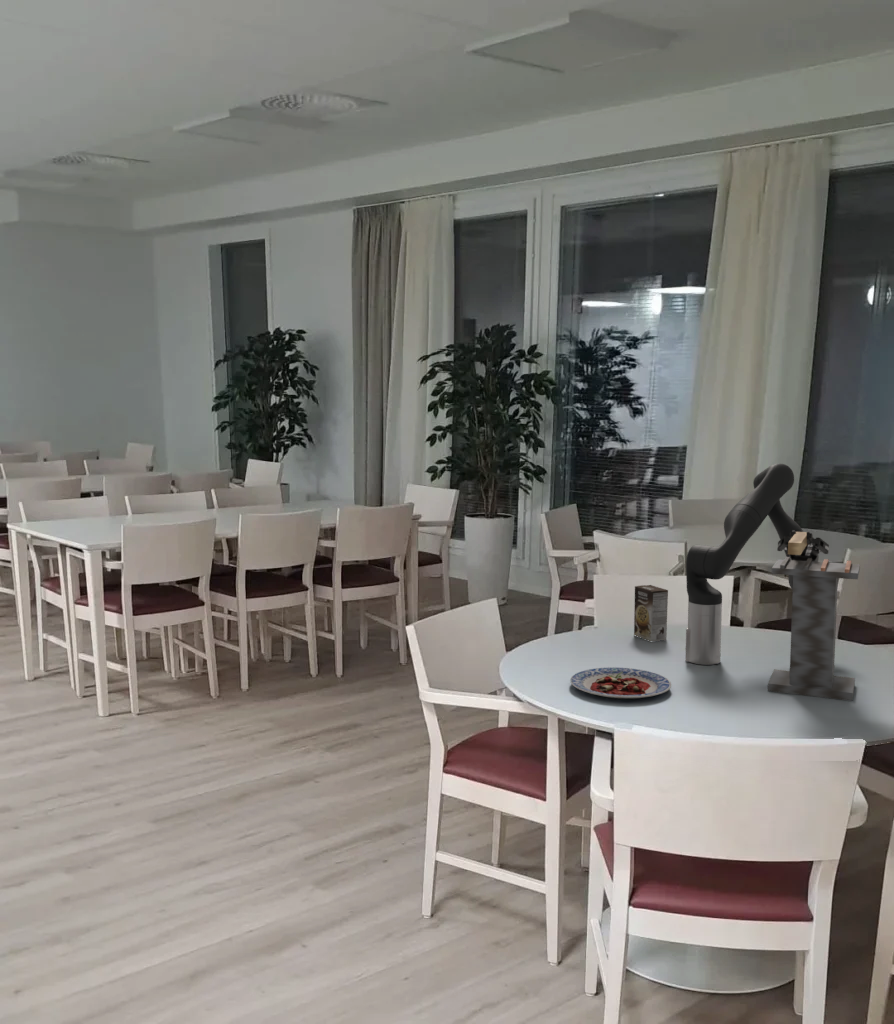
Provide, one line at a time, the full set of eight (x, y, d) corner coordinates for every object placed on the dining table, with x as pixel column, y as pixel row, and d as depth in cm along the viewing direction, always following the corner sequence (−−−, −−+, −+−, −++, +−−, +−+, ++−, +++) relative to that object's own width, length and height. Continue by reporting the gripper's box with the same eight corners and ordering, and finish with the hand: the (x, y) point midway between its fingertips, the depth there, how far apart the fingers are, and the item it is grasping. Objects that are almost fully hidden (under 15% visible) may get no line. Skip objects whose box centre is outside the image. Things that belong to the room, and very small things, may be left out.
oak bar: (787, 554, 238) (788, 542, 238) (796, 542, 258) (796, 531, 257) (800, 555, 237) (801, 543, 236) (807, 543, 257) (808, 532, 256)
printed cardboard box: (632, 636, 301) (633, 586, 299) (649, 633, 304) (650, 584, 302) (650, 642, 293) (651, 591, 291) (667, 640, 296) (668, 589, 294)
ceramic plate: (672, 708, 232) (673, 696, 231) (566, 702, 237) (566, 690, 237) (669, 677, 257) (670, 667, 256) (573, 673, 262) (573, 662, 262)
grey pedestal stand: (767, 690, 244) (771, 564, 240) (773, 676, 256) (778, 556, 253) (852, 700, 235) (858, 570, 232) (854, 685, 248) (860, 561, 244)
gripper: (779, 544, 271) (774, 520, 257) (832, 547, 265) (830, 522, 251) (776, 568, 268) (771, 545, 254) (830, 572, 262) (828, 549, 248)
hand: (800, 534), depth 252 cm, fingers closed on oak bar, 3 cm apart
